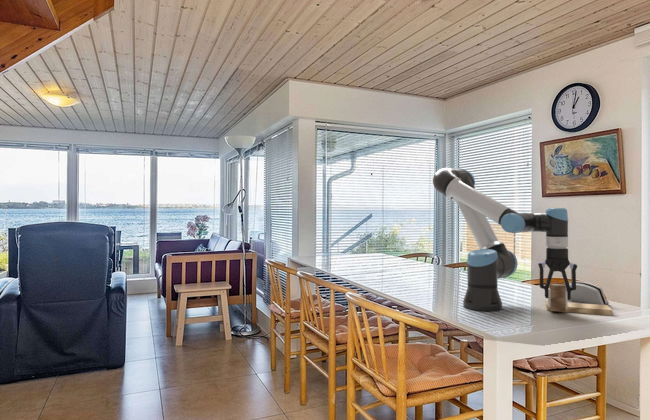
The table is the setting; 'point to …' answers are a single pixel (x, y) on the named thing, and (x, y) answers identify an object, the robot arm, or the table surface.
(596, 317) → the table surface
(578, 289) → the grey curved slab
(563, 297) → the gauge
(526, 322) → the table surface
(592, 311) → the board
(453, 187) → the robot arm
